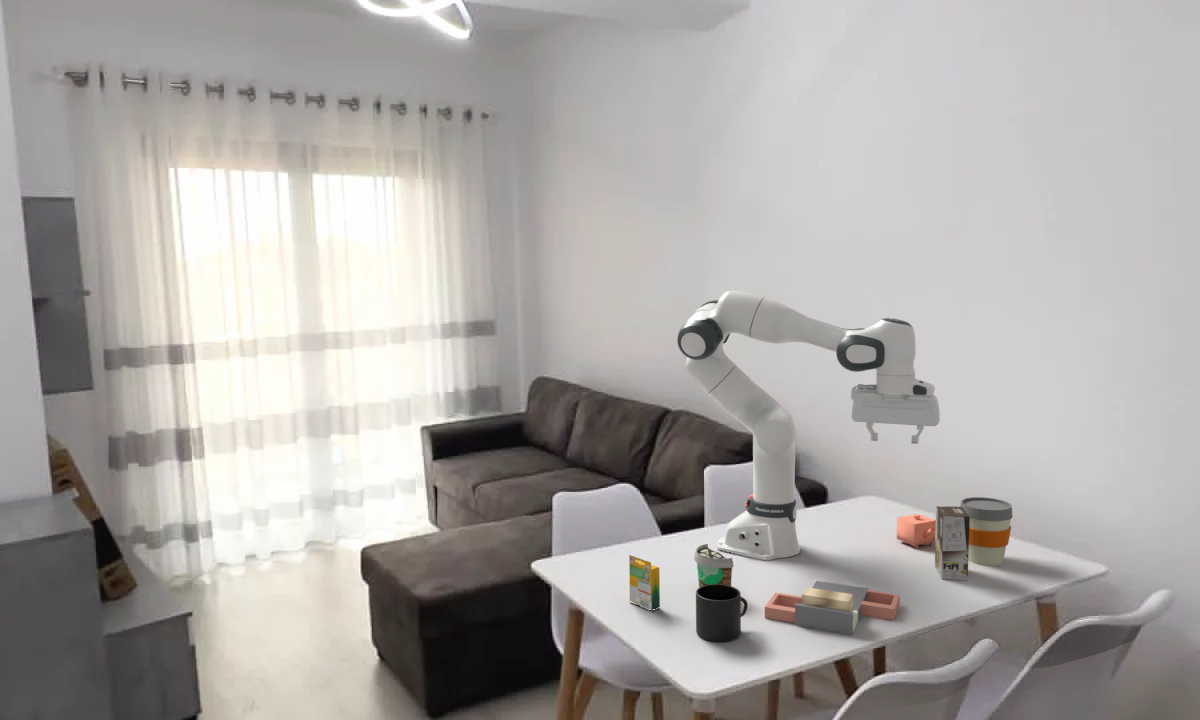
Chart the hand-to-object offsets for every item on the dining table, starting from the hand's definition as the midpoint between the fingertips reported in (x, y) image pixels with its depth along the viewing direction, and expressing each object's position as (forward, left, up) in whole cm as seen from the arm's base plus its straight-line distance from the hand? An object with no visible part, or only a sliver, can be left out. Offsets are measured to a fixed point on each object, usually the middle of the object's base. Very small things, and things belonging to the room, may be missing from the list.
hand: (894, 441), depth 205 cm
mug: (-28, -47, -34) cm, 65 cm away
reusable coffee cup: (+20, +22, -34) cm, 45 cm away
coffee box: (+13, +8, -34) cm, 38 cm away
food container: (-38, -28, -34) cm, 58 cm away
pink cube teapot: (+3, +28, -34) cm, 45 cm away
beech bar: (-9, -34, -32) cm, 47 cm away
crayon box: (-49, -41, -34) cm, 73 cm away
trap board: (-9, -27, -34) cm, 45 cm away
